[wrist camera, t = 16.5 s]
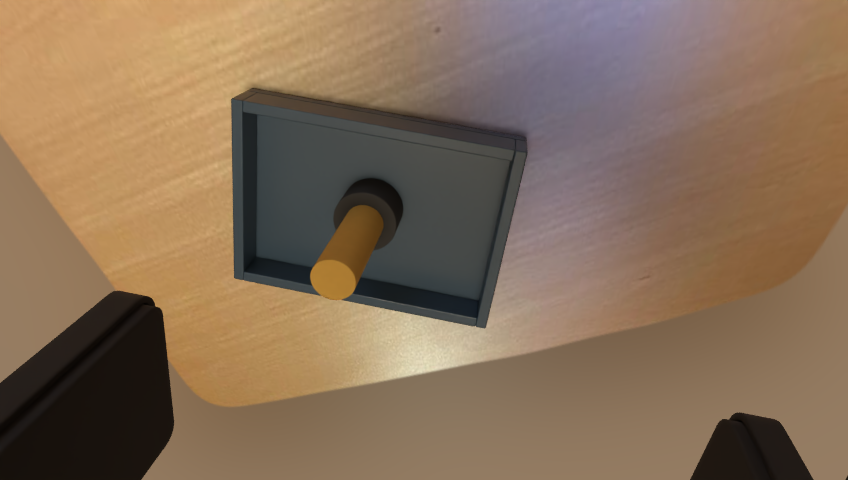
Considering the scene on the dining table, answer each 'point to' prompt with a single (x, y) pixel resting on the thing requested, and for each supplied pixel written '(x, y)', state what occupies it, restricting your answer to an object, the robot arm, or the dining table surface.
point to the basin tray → (384, 160)
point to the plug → (356, 236)
